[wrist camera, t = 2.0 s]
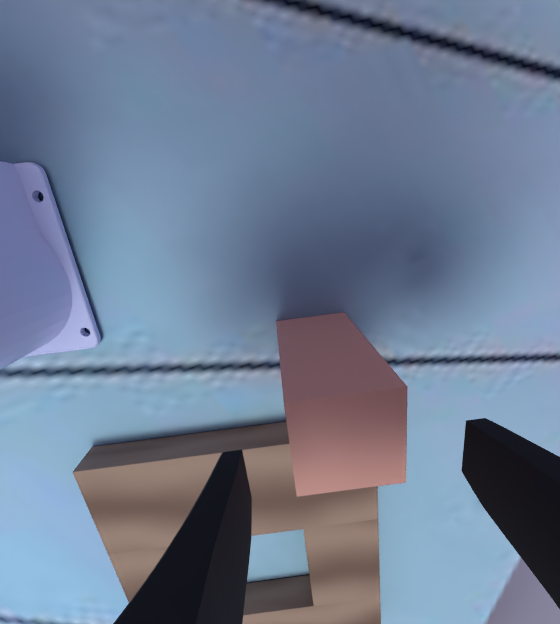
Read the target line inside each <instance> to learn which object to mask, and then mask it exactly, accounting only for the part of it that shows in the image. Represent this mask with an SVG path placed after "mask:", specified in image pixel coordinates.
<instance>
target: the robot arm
mask: <svg viewBox="0 0 560 624" xmlns="http://www.w3.org/2000/svg"><path fill="white" fill-rule="evenodd" d="M39 192H41V193H42V194H43V197H44V199H43V201H42V202H41V201H40V200H39V198H38V194H39ZM85 328H87V329H89V331H90V334H88V333H86V331H85ZM100 341H101V337H100V334H99V331H98V328H97V325H96V322H95V319H94V316H93V313H92V310H91V307H90V304H89V301H88V298H87V295H86V292H85V289H84V286H83V283H82V280H81V277H80V274H79V271H78V268H77V265H76V262H75V259H74V256H73V253H72V250H71V247H70V244H69V241H68V238H67V235H66V232H65V229H64V226H63V223H62V220H61V217H60V214H59V211H58V208H57V205H56V202H55V199H54V196H53V193H52V190H51V187H50V184H49V181H48V178H47V175H46V173H45V171H44V169H43V168H42V167H41V166H39V165H37V164H35V163H31V162H24V163H16V164H12V163H7V162H3V161H0V369H2V368H4V367H6V366H8V365H9V364H11V363H13V362H15V361H17V360H18V359H20V358H22V357H27V356H35V355H43V354H51V353H58V352H66V351H74V350H82V349H89V348H94V347H96V346H97V345H98V344H99V343H100ZM462 472H463V474H464V476H465V478H466V479H467V481H468V483H469V484H470V486H471V488H472V490H473V491H474V493H475V494H476V496H477V498H478V499H479V501H480V502H481V504H482V506H483V507H484V508H485V510H486V511H487V512H488V514H489V515H490V517H491V518H492V519H493V521H494V522H495V523H496V525H497V526H498V527H499V529H500V530H501V531H502V533H503V534H504V535H505V537H506V538H507V539H508V541H509V542H510V543H511V545H512V546H513V547H514V548H515V550H516V551H517V552H518V554H519V555H520V556H521V558H522V559H523V560H524V562H525V563H526V564H527V566H528V567H529V568H530V570H531V571H532V572H533V574H534V575H535V576H536V577H537V579H538V580H539V582H540V583H541V584H542V585H543V587H544V588H545V589H546V591H547V592H548V593H549V595H550V596H551V598H552V599H553V600H554V602H555V603H556V604H557V606H558V607H559V609H560V457H559V456H557V455H555V454H553V453H551V452H549V451H547V450H545V449H543V448H542V447H540V446H538V445H536V444H534V443H532V442H530V441H528V440H527V439H525V438H523V437H521V436H519V435H517V434H515V433H513V432H512V431H510V430H508V429H506V428H504V427H502V426H500V425H498V424H496V423H494V422H492V421H490V420H488V419H486V418H483V419H475V420H467V421H466V428H465V439H464V451H463V462H462ZM251 531H252V497H251V491H250V486H249V481H248V476H247V471H246V466H245V461H244V456H243V451H242V450H235V451H227V452H223V453H222V454H221V455H220V457H219V459H218V461H217V463H216V465H215V467H214V469H213V471H212V473H211V475H210V477H209V479H208V481H207V483H206V484H205V486H204V488H203V490H202V492H201V494H200V495H199V497H198V499H197V501H196V502H195V504H194V506H193V508H192V509H191V511H190V513H189V514H188V516H187V518H186V520H185V521H184V523H183V524H182V526H181V528H180V529H179V531H178V532H177V534H176V536H175V537H174V539H173V540H172V542H171V543H170V545H169V546H168V548H167V550H166V551H165V553H164V554H163V556H162V557H161V559H160V560H159V562H158V563H157V565H156V566H155V568H154V569H153V571H152V572H151V573H150V575H149V576H148V578H147V579H146V581H145V582H144V583H143V585H142V586H141V588H140V589H139V590H138V592H137V593H136V594H135V596H134V597H133V599H132V600H131V601H130V603H129V604H128V605H127V607H126V608H125V609H124V611H123V612H122V613H121V614H120V616H119V617H118V618H117V620H116V621H115V622H114V623H113V624H242V622H243V613H244V603H245V594H246V584H247V575H248V565H249V555H250V545H251Z"/></svg>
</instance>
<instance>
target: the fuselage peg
mask: <svg viewBox="0 0 560 624" xmlns="http://www.w3.org/2000/svg"><path fill="white" fill-rule="evenodd" d="M276 323H277V334H278V345H279V355H280V366H281V377H282V388H283V398H284V407H285V415H286V422H287V429H288V437H289V444H290V451H291V459H292V466H293V473H294V481H295V488H296V495H297V497H298V496H306V495H314V494H321V493H329V492H337V491H344V490H352V489H359V488H367V487H375V486H382V485H390V484H397V483H405V482H406V444H407V386H406V385H405V383H404V382H403V381H402V380H401V379H400V378H399V376H398V375H397V374H396V373H395V372H394V370H393V369H392V368H391V367H390V366H389V365H388V363H387V362H386V361H385V360H384V359H383V357H382V356H381V355H380V354H379V353H378V352H377V350H376V349H375V348H374V347H373V346H372V344H371V343H370V342H369V341H368V340H367V339H366V337H365V336H364V335H363V334H362V333H361V331H360V330H359V329H358V328H357V327H356V326H355V324H354V323H353V322H352V321H351V320H350V318H349V317H348V316H347V315H346V314H345V313H344V312H342V313H334V314H326V315H318V316H311V317H303V318H295V319H287V320H279V321H276Z"/></svg>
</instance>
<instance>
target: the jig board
mask: <svg viewBox="0 0 560 624" xmlns="http://www.w3.org/2000/svg"><path fill="white" fill-rule="evenodd" d="M235 450H242V451H243V456H244V461H245V466H246V471H247V476H248V481H249V486H250V491H251V497H252V531H251V536H253V535H261V534H269V533H276V532H284V531H291V530H299V529H304V537H305V544H306V552H307V559H308V567H309V574H310V575H305V576H297V577H290V578H282V579H275V580H267V581H260V582H252V583H247V584H246V594H245V603H244V613H243V622H242V624H381V615H380V574H379V533H378V492H377V486H375V487H367V488H359V489H352V490H344V491H337V492H329V493H321V494H314V495H306V496H298V497H297V495H296V488H295V481H294V473H293V466H292V459H291V451H290V444H289V437H288V429H287V422H279V423H272V424H264V425H256V426H249V427H241V428H233V429H226V430H218V431H210V432H203V433H195V434H187V435H180V436H172V437H164V438H157V439H149V440H141V441H134V442H126V443H118V444H111V445H103V446H95V447H92V448H91V449H90V450H89V452H88V453H87V454H86V456H85V457H84V458H83V459H82V461H81V462H80V463H79V465H78V466H77V467H76V468H75V470H74V471H73V474H74V476H75V479H76V481H77V483H78V486H79V488H80V490H81V493H82V495H83V497H84V500H85V502H86V504H87V507H88V509H89V511H90V514H91V516H92V518H93V520H94V523H95V525H96V527H97V530H98V532H99V534H100V537H101V539H102V541H103V544H104V546H105V548H106V551H107V553H108V555H109V557H110V560H111V562H112V564H113V567H114V569H115V571H116V574H117V576H118V578H119V581H120V583H121V585H122V588H123V590H124V592H125V595H126V597H127V599H128V601H129V603H130V601H131V600H132V599H133V597H134V596H135V594H136V593H137V592H138V590H139V589H140V588H141V586H142V585H143V583H144V582H145V581H146V579H147V578H148V576H149V575H150V573H151V572H152V571H153V569H154V568H155V566H156V565H157V563H158V562H159V560H160V559H161V557H162V556H163V554H164V553H165V551H166V550H167V548H168V546H169V545H170V543H171V542H172V540H173V539H174V537H175V536H176V534H177V532H178V531H179V529H180V528H181V526H182V524H183V523H184V521H185V520H186V518H187V516H188V514H189V513H190V511H191V509H192V508H193V506H194V504H195V502H196V501H197V499H198V497H199V495H200V494H201V492H202V490H203V488H204V486H205V484H206V483H207V481H208V479H209V477H210V475H211V473H212V471H213V469H214V467H215V465H216V463H217V461H218V459H219V457H220V455H221V454H222V453H223V452H227V451H235Z"/></svg>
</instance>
